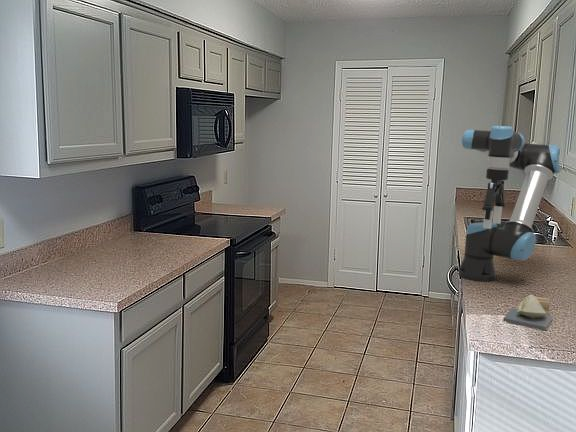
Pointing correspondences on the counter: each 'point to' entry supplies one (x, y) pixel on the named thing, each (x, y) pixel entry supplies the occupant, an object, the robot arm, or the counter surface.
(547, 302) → the oak block
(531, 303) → the seashell
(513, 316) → the plate
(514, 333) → the counter surface
